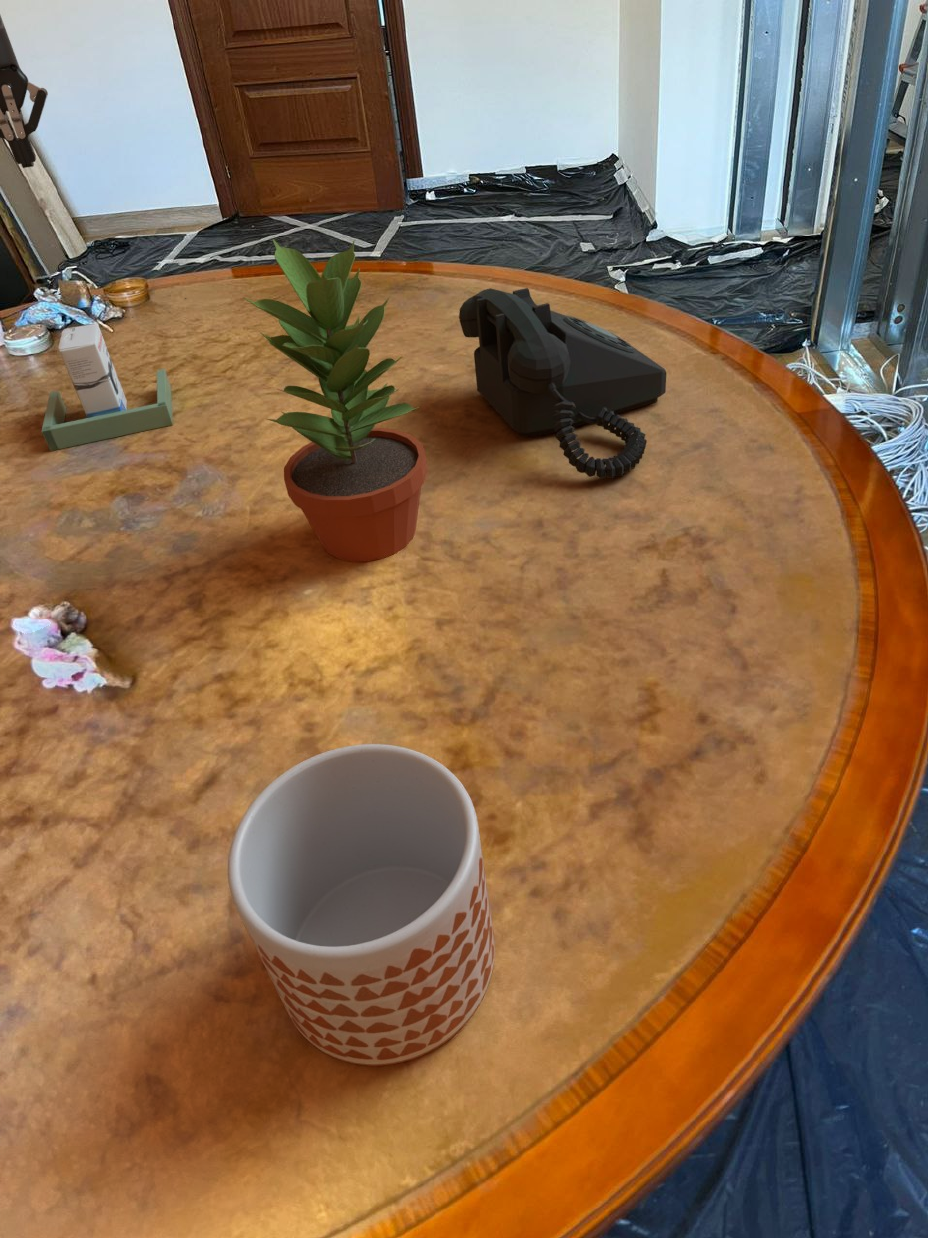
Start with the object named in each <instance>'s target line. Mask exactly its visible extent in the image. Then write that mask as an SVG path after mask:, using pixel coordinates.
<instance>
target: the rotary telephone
mask: <svg viewBox="0 0 928 1238" xmlns="http://www.w3.org/2000/svg"><path fill="white" fill-rule="evenodd" d="M530 292H531V291H530V288H528V287H525V288H521V289H516V290H513V291H512V293H511V292H506V291H503V290H498V289H495V288H486V289H483V290H481V291H479V292H478V293H476V294H474V295H473V296H471V297H468V298H467V299H466V300H465V301H464V302H462V305H461V306H460V307H459V311H458V313H459V315H458V320H459V324H460V327H461V331H462V334H463V336H464V337H465V338H471V339H473V338H478V347H477V348H476V349H474V350H473V356H474V357H473V359H474V370H475V380H476V390H477V392H478V393H479V394H480V395H481V396H482V397H483V399H484V400H486V401H487V403H488V404H489V405H490V406H491V407H492V408H493V409H494V410H495V411H496V413H497V414H499V416H500V417H501V418H502V419H503V420H504V421H505V422H506V424H508V425H509V426H510V427H511V428H512V430H514V431H515V432H516V433H517V434H518V435H520V436H523V437H538V436H543V435H548V434H549V435H550V434H554V433H556V435H555V440H557V441H558V442H559V446H558V447H559V448H560V449H561V450H562V451H563V456H564V457H565V458H566V459H568V463H569V465H571V466H572V467H574V468H575V469H576V471H577V472H578V473H581V474H585V475H586V476H588V478H589V477H590V478H591V477H594V476H596V477H597V478H599V479H603V478H605V477H607V478H609V479H613V478H614V477H615V476H616V477H622V476H623V475H624V473H630V472H631V469H636V465H637V464H640V461H641V459H642V458H643V455H644V454H645V450H646V446H647V439H645V437H646V435H647V434H646V433H644V432H642V431H641V427H638V426H635V423H634V422H629V420H628V419H627V418H622V416H621V414H622V413H625V412H628V411H631V410H635V409H638V408H641V407H644V406H648V405H651V404H654V403H657V402H658V401H659V400H658V399H659V398H660V397H661V396H664V394H666V391H667V390H666V388H667V370H666V368H664V367H663V366H661V365H660V364H658V363H657V362H655V361H654V360H653V359H651V358H650V357H648V355H645V353H643V352H641V351H640V350H638V349H637V348H635V347H634V346H633V345H632V344H630V343H629V342H628V341H626V340H625V339H623V338H621V337H620V336H619V335H617V334H614V333H613V332H610V331H608V330H607V329H605V328H603V327H600V326H598V325H596V324H594V323H591V322H588V321H586V320H583V319H582V318H581V319H580V318H577V317H575V316H571V315H565V314H561V313H559V312H557V311H554V310H551V304H550V303H549V302H547V303H541V304H536V303H535V302H534V300H533V298H532V296H531V293H530ZM586 424H596V426H598V427H602V428H603V429H604V430H607V431H609V433H610V434H614V435H615V437H616V438H620V440H621V441H624V444H625V445H624V446H623V449H621V450H620V452H619V453H617V455H613V457H608V458H602V459H601V458H599V457H596V458H595V457H594V456H591V457H590V454H589V453H588V452H585V451H586V449H585V448H584V447H581V445H582V442H581V441H579V440H577V438H578V434H577V433H575V430H576V427H580V426H583V425H586Z"/></svg>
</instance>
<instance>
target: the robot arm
mask: <svg viewBox="0 0 928 1238" xmlns="http://www.w3.org/2000/svg"><path fill="white" fill-rule="evenodd" d="M27 92H28V93H29V100H30V101H31V103H33V104H32V108H31V111H30V115H29V118H28V121H27V122H25V119H24V116H23V115H24V114H23V112H22V108H23V106H24V103H25V99H26V96H27ZM48 94H49V93H48V91H47V89H46V88H44V87H39V86H37V85H35V84H34V83H32V82H30V81H29V78H28V76H27V75H26V73H24V71H22V69H21V67H20V64H19V61H18V59H17V56H16V54H15V50H14V47H13V45H12V43H11V40H10V37H9V34H8V32H7V29H6V25H5V24H4V21H3V19H2V15H1V14H0V139H2V140H3V139H4V140H6V142H7V143H8V146H9V148H10V151H11V153H12V156H13V159H14V161H15V163H16V164H17V165H21V167H22V168H23V169H26V168H33V167H34V165H35V163H34V162H36V160H37V156H36V152H35V150H34V148H33V145H32V142H31V139H30V135H31V134H32V133H34V132H36V130H37V129H38V126H39V124H40V120H41V117H42V114H43V111H44V108H45V104H46V102H47V99H48ZM7 112H8V113H9V115H8V113H7ZM10 120H11V121H12V123H11V121H10Z"/></svg>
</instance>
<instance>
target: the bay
mask: <svg viewBox="0 0 928 1238" xmlns="http://www.w3.org/2000/svg"><path fill="white" fill-rule="evenodd" d="M156 400H157V401H156V403H153V404H147V405H144V406H138V407H134V408H129V409H127V410H124V411H119V412H114V413H109V414H105V415H100V416H95V417H90V418H87V417H85V418H81V419H77V420H71V421H67V422H65V418H66V414H67V407H66V405H65V402H64V401H63V398H62V396H61V393H60V390H54V391H50V392H49V394H48V400H47V403H46V409H45V413H44V417H43V423H42V427H41V431H40V432H41V433H42V436H43V438H44V440H45V442H46V445H47V447H48V450H49V451H50V452H53V451H58V450H62V449H67V448H72V447H76V446H81V445H87V444H90V443H94V442H99V441H104V440H109V439H114V438H118V437H123V436H127V435H132V434H136V433H140V432H146V431H149V430H150V431H151V430H155V429H160V428H164V427H170V426H173V425H174V419H173V418H174V417H173V416H174V415H173V397H172V386H171V383H170V380H169V377H168V374H167V371H166V369H165V368H162V369H161V368H160V369H157V370H156Z"/></svg>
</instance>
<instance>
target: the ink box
mask: <svg viewBox="0 0 928 1238" xmlns="http://www.w3.org/2000/svg"><path fill="white" fill-rule="evenodd" d="M57 349H58V350H59V351H58V352H59V355H60V356H61V359H62V361H63V364H64V366H65V368H66V370H67V373H68V375H69V378H70V380H71V382H72V386H73V388H74V390H75V392H76V395H77V397H78V400H79V402H80V405H81V407H82V409H83V412H84V414H85V416H86V418H90V417H95V416H100V415H105V414H109V413H114V412H119V411H124V410H128V409H127V406H128V405H127V403H128V401H127V398H126V396H125V393H124V390H123V387H122V384H121V381H120V380H119V377H118V374H117V371H116V369H115V365H114V363H113V361H112V358H111V355H110V352H109V350H108V347H107V345H106V342H105V339H104V337H103V334H102V330H101V328H100V325H99V323H96V322H95V323H91V324H84V325H79V326H73V327H67V328H64V329H63V330H62V331H61V335H60V339H59V343H58V347H57Z"/></svg>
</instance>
